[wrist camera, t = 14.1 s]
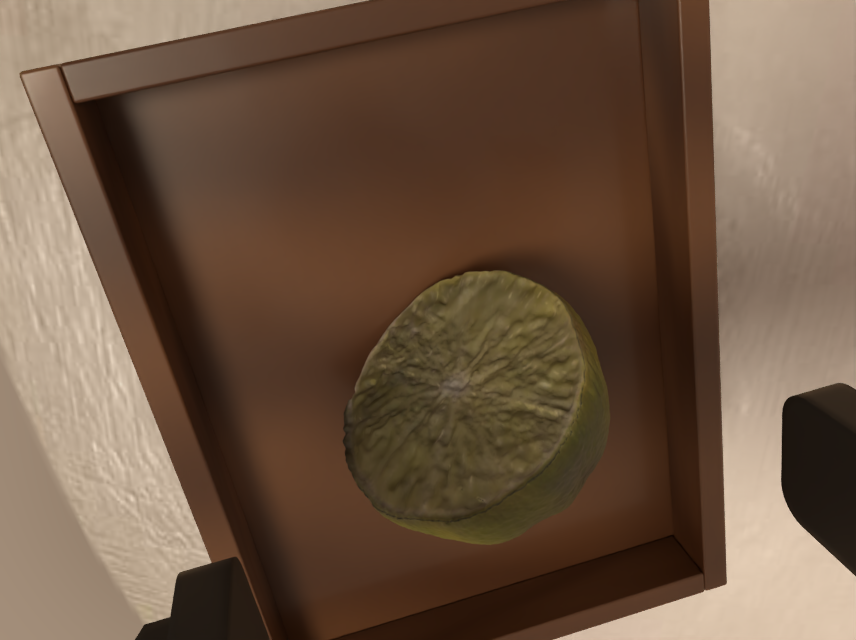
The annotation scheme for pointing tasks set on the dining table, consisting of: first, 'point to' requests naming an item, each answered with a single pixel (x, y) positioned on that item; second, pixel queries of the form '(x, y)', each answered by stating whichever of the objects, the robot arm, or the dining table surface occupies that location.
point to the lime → (478, 410)
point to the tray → (411, 284)
